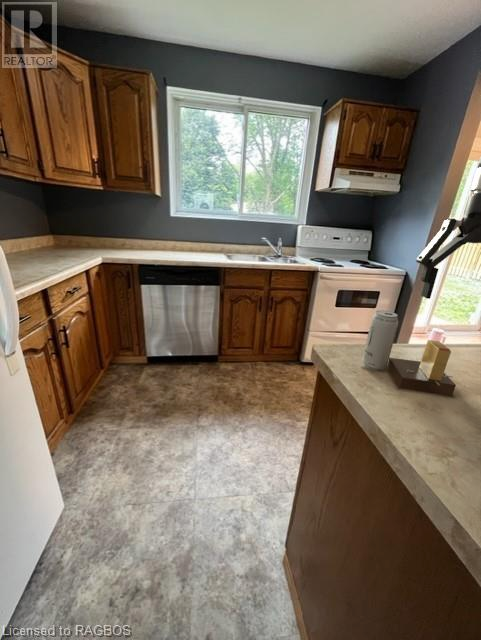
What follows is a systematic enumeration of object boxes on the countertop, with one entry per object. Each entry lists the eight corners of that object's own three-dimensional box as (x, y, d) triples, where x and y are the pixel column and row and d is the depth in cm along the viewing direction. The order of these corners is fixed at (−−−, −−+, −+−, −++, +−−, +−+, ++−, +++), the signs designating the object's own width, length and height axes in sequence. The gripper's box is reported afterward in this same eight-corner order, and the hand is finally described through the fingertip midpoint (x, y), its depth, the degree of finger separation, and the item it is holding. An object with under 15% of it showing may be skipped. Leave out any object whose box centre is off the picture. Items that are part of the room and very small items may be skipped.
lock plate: (435, 374, 70) (439, 363, 69) (459, 400, 60) (464, 388, 59) (386, 367, 72) (389, 356, 71) (401, 392, 62) (404, 380, 61)
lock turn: (419, 367, 67) (428, 338, 64) (430, 369, 66) (439, 340, 64) (428, 379, 62) (438, 348, 59) (440, 381, 61) (451, 350, 58)
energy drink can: (359, 359, 76) (370, 308, 70) (382, 362, 75) (395, 311, 69) (364, 370, 70) (376, 316, 65) (389, 373, 69) (404, 318, 64)
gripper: (431, 189, 51) (404, 299, 58) (592, 192, 46) (540, 309, 54) (415, 193, 58) (392, 291, 65) (553, 196, 53) (512, 299, 61)
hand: (459, 299), depth 59 cm, fingers open, 13 cm apart
